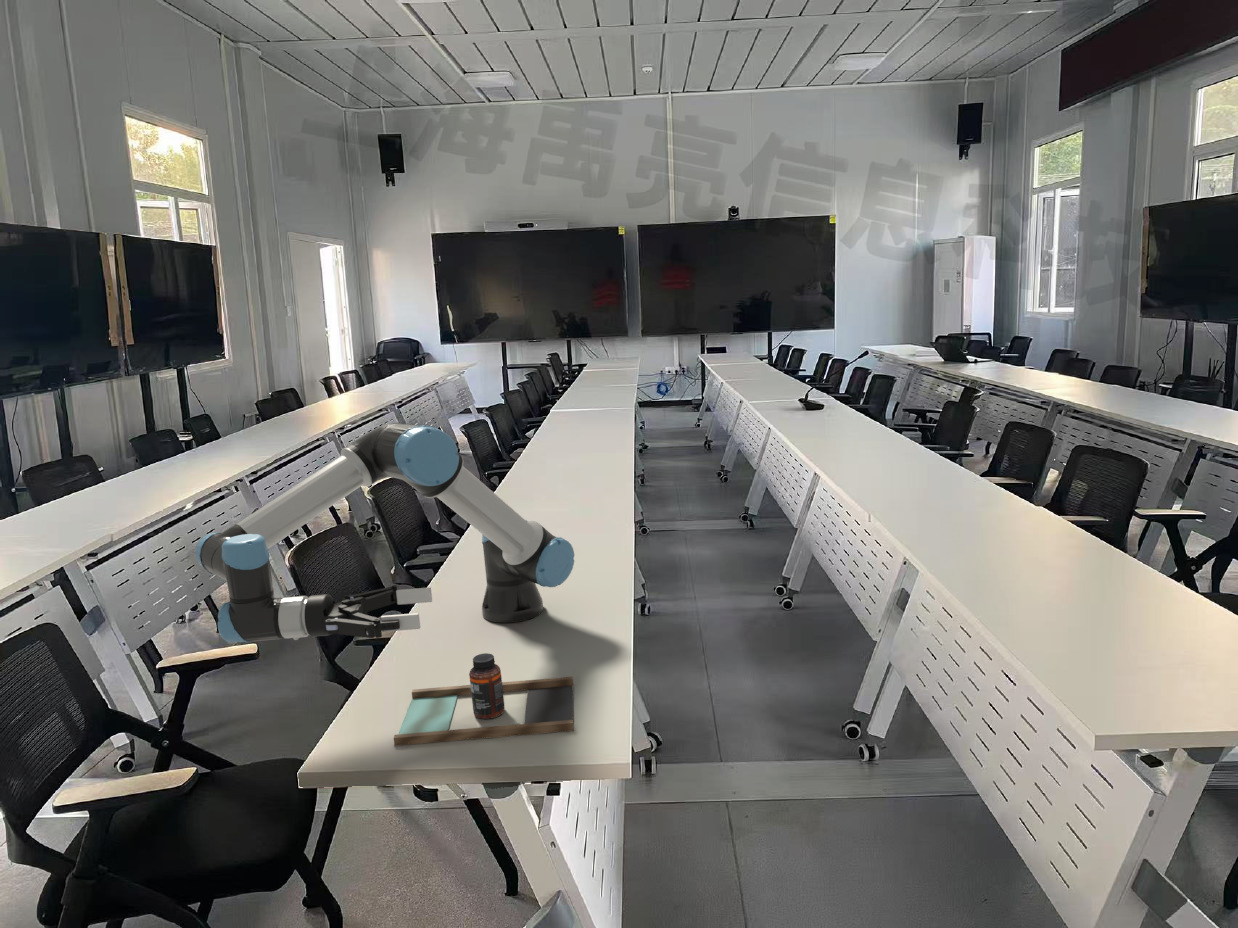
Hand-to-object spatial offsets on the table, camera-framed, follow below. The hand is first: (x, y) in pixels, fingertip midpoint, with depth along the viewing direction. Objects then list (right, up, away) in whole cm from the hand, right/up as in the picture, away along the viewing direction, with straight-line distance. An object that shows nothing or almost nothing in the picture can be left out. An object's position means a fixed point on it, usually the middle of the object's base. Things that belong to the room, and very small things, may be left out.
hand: (425, 607), depth 159 cm
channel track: (+11, -21, +5) cm, 24 cm away
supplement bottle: (+11, -21, +5) cm, 24 cm away
